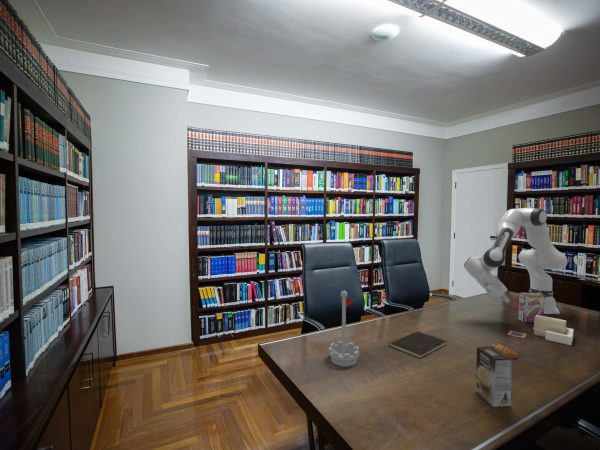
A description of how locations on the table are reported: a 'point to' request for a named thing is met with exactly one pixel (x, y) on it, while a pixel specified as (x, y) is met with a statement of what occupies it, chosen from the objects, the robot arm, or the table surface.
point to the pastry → (506, 350)
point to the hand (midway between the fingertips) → (508, 302)
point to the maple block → (548, 325)
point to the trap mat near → (517, 334)
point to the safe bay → (560, 336)
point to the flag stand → (344, 342)
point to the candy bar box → (530, 306)
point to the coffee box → (494, 376)
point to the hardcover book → (418, 344)
